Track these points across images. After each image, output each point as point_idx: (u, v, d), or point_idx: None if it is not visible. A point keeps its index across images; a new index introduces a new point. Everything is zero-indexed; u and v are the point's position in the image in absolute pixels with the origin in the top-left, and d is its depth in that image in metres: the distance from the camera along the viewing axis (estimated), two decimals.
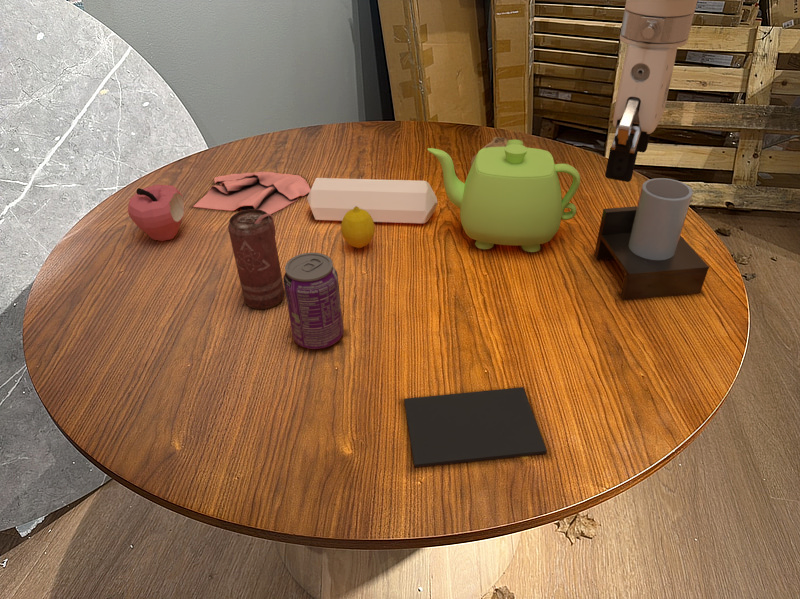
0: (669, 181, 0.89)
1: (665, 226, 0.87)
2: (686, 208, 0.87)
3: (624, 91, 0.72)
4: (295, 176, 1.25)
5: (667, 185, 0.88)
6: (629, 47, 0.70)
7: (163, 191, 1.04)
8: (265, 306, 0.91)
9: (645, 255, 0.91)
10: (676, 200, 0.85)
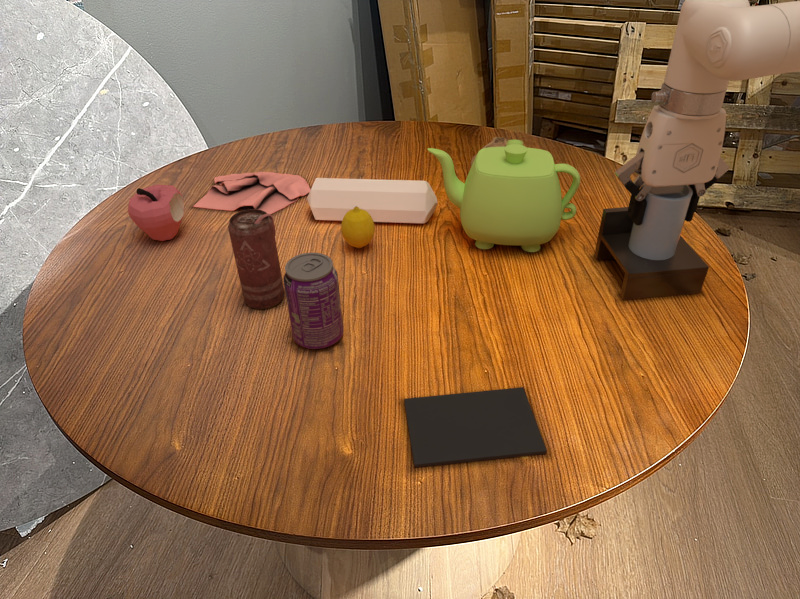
0: None
1: (665, 226, 0.87)
2: (686, 208, 0.87)
3: (640, 142, 0.84)
4: (295, 176, 1.25)
5: None
6: None
7: (163, 191, 1.04)
8: (265, 306, 0.91)
9: (645, 255, 0.91)
10: (676, 200, 0.85)
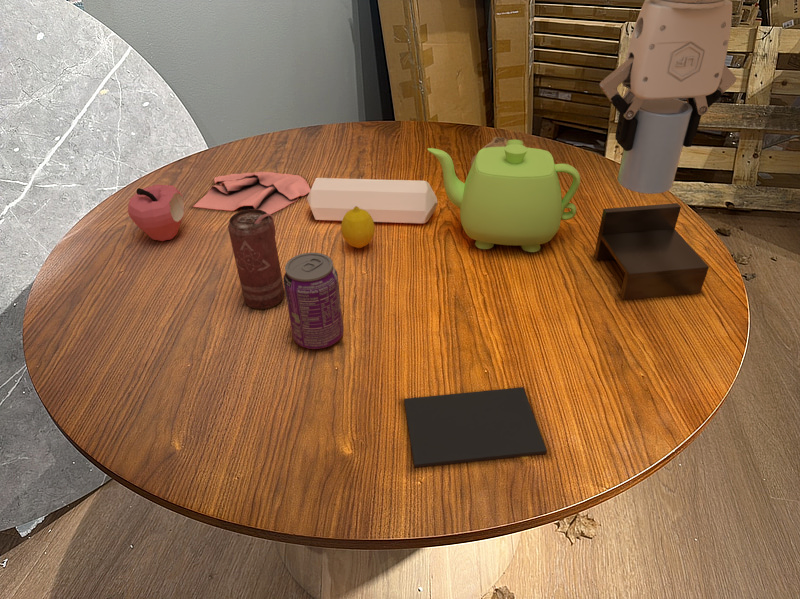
0: (665, 99, 0.76)
1: (659, 150, 0.74)
2: (684, 128, 0.73)
3: (629, 46, 0.70)
4: (295, 176, 1.25)
5: (662, 103, 0.75)
6: (645, 0, 0.68)
7: (163, 191, 1.04)
8: (265, 306, 0.91)
9: (636, 188, 0.77)
10: (672, 116, 0.71)
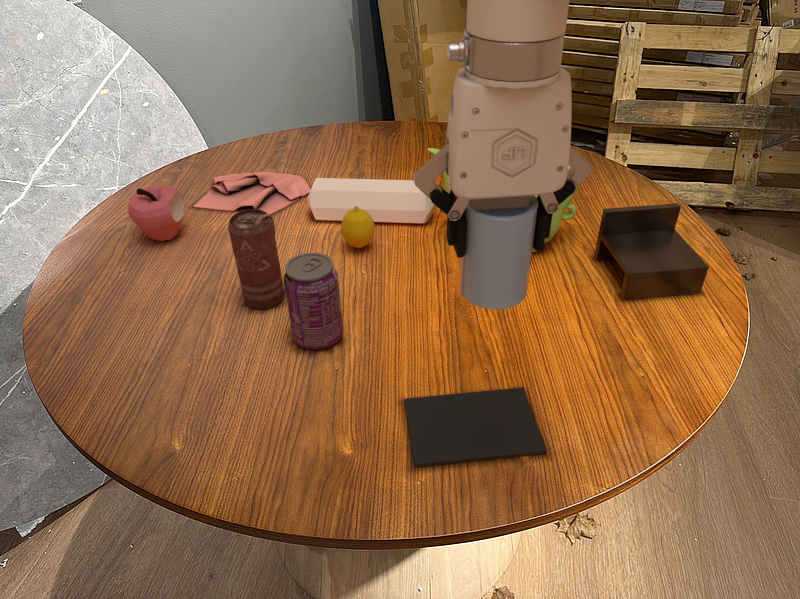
0: None
1: (496, 259, 0.56)
2: (527, 232, 0.55)
3: (447, 127, 0.53)
4: (295, 176, 1.25)
5: None
6: None
7: (163, 191, 1.04)
8: (265, 306, 0.91)
9: (477, 301, 0.60)
10: (506, 220, 0.54)
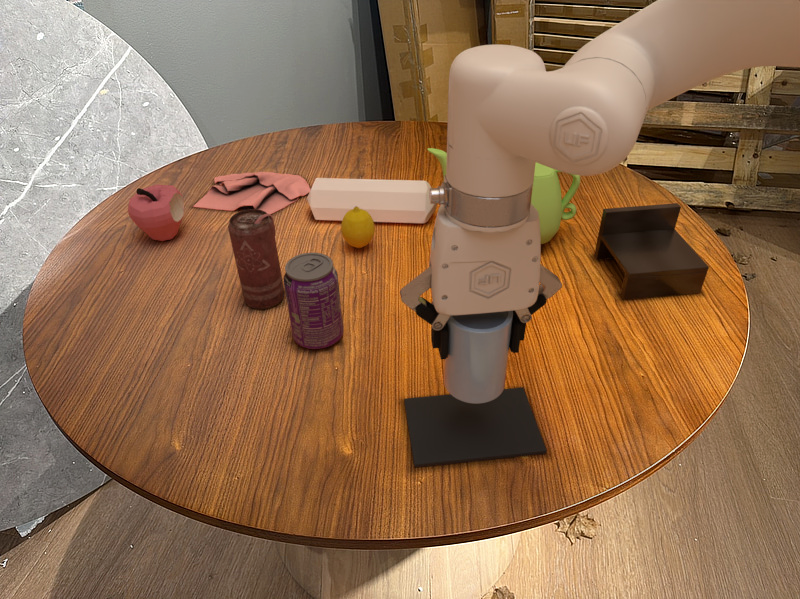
0: None
1: (475, 363, 0.62)
2: (503, 340, 0.61)
3: None
4: (295, 176, 1.25)
5: None
6: (441, 205, 0.57)
7: (163, 191, 1.04)
8: (265, 306, 0.91)
9: (458, 396, 0.66)
10: (483, 333, 0.60)
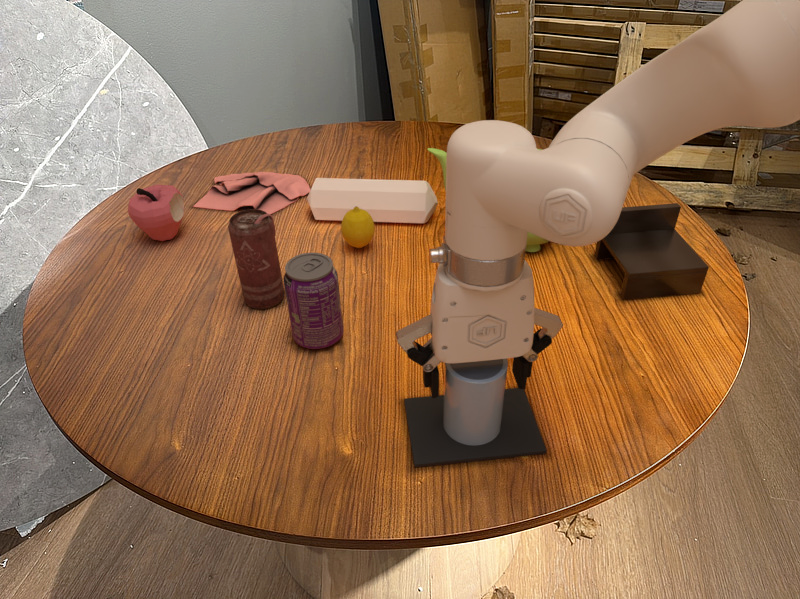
0: None
1: (472, 410, 0.66)
2: (498, 389, 0.66)
3: None
4: (295, 176, 1.25)
5: None
6: None
7: (163, 191, 1.04)
8: (265, 306, 0.91)
9: (457, 438, 0.70)
10: (480, 383, 0.64)
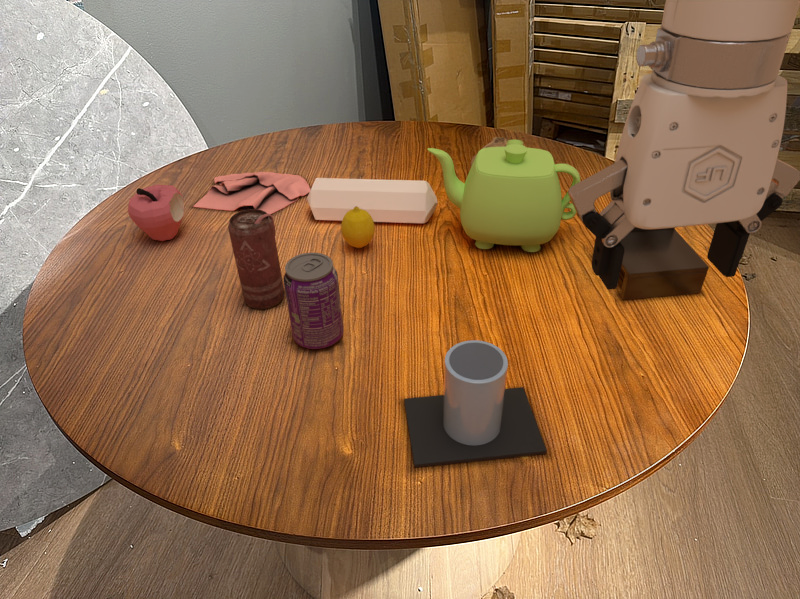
0: (483, 347, 0.68)
1: (472, 410, 0.66)
2: (498, 389, 0.66)
3: (620, 145, 0.45)
4: (295, 176, 1.25)
5: (478, 355, 0.67)
6: (643, 77, 0.42)
7: (163, 191, 1.04)
8: (265, 306, 0.91)
9: (457, 438, 0.70)
10: (480, 383, 0.64)
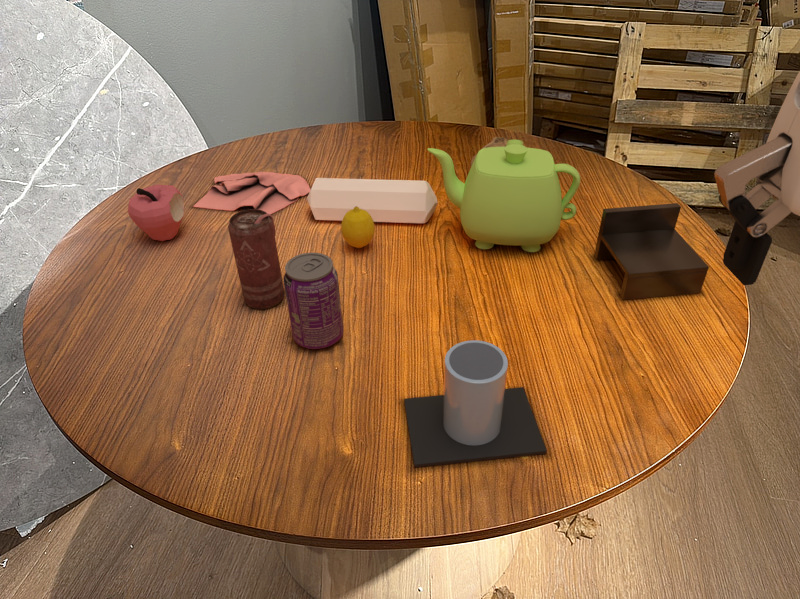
0: (483, 347, 0.68)
1: (472, 410, 0.66)
2: (498, 389, 0.66)
3: (779, 120, 0.39)
4: (295, 176, 1.25)
5: (478, 355, 0.67)
6: None
7: (163, 191, 1.04)
8: (265, 306, 0.91)
9: (457, 438, 0.70)
10: (480, 383, 0.64)
